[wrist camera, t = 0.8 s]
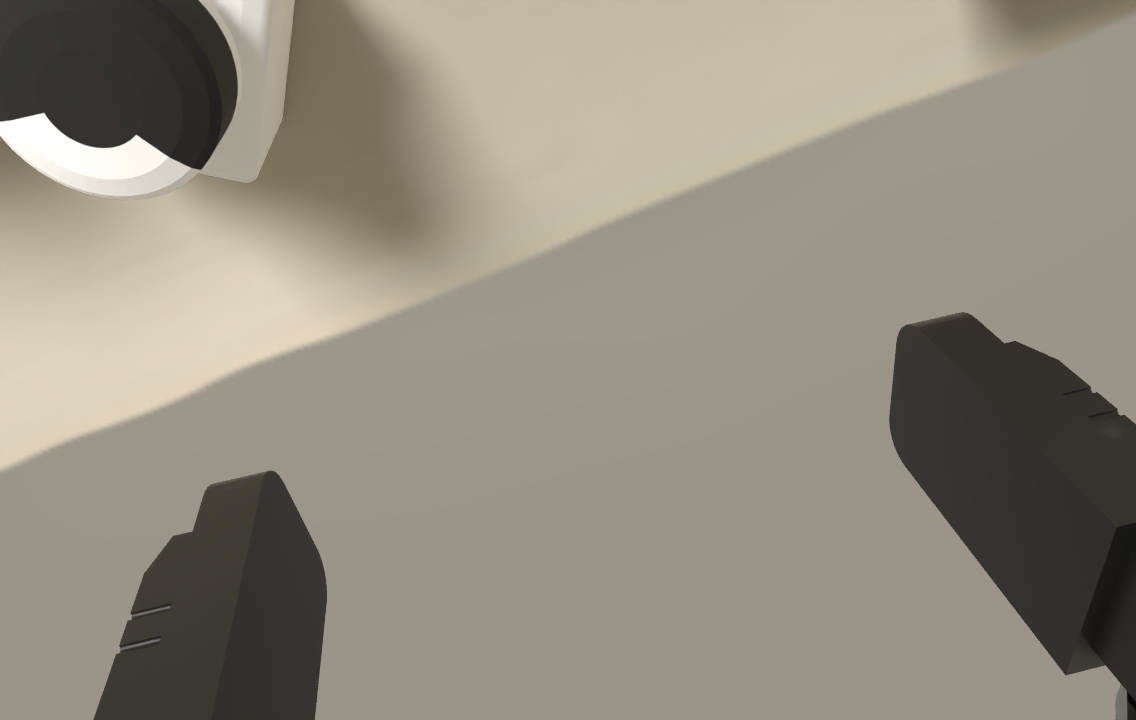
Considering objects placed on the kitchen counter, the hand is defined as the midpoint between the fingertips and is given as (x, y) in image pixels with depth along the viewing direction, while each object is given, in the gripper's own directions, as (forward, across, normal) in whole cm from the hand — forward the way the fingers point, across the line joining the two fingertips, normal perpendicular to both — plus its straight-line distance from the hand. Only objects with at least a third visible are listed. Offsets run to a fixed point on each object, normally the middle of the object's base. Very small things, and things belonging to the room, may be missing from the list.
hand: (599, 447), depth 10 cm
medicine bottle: (+27, +10, -2) cm, 29 cm away
